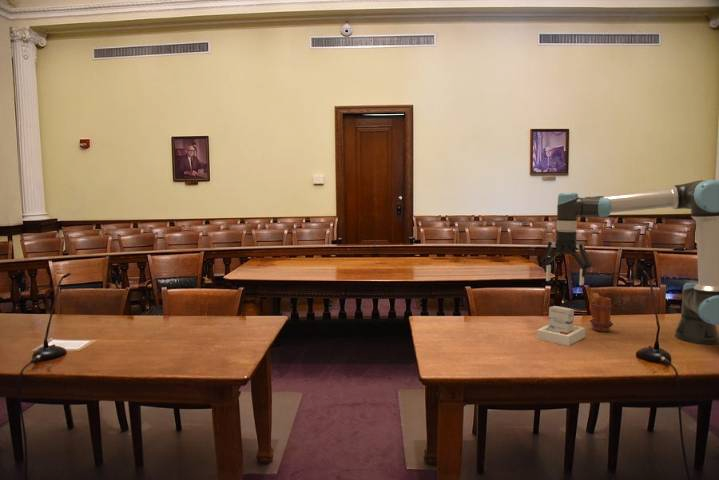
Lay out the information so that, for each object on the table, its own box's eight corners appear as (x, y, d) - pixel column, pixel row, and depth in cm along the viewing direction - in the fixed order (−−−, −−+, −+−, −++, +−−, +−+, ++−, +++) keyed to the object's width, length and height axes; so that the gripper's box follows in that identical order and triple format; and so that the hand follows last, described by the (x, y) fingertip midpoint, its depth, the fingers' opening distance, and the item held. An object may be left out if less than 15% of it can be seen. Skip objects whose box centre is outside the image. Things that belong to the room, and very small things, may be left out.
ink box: (573, 336, 203) (574, 308, 202) (567, 339, 200) (568, 310, 199) (553, 332, 210) (554, 304, 208) (547, 334, 206) (548, 306, 205)
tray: (585, 336, 206) (585, 327, 206) (568, 345, 194) (568, 336, 194) (554, 330, 215) (554, 321, 215) (536, 338, 203) (536, 329, 203)
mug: (615, 333, 211) (617, 298, 209) (596, 333, 211) (598, 298, 209) (599, 324, 225) (601, 291, 224) (581, 323, 225) (583, 291, 224)
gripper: (602, 232, 195) (599, 285, 197) (540, 228, 212) (539, 277, 215) (595, 233, 190) (593, 288, 192) (532, 229, 207) (531, 280, 209)
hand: (564, 282), depth 203 cm, fingers open, 13 cm apart
